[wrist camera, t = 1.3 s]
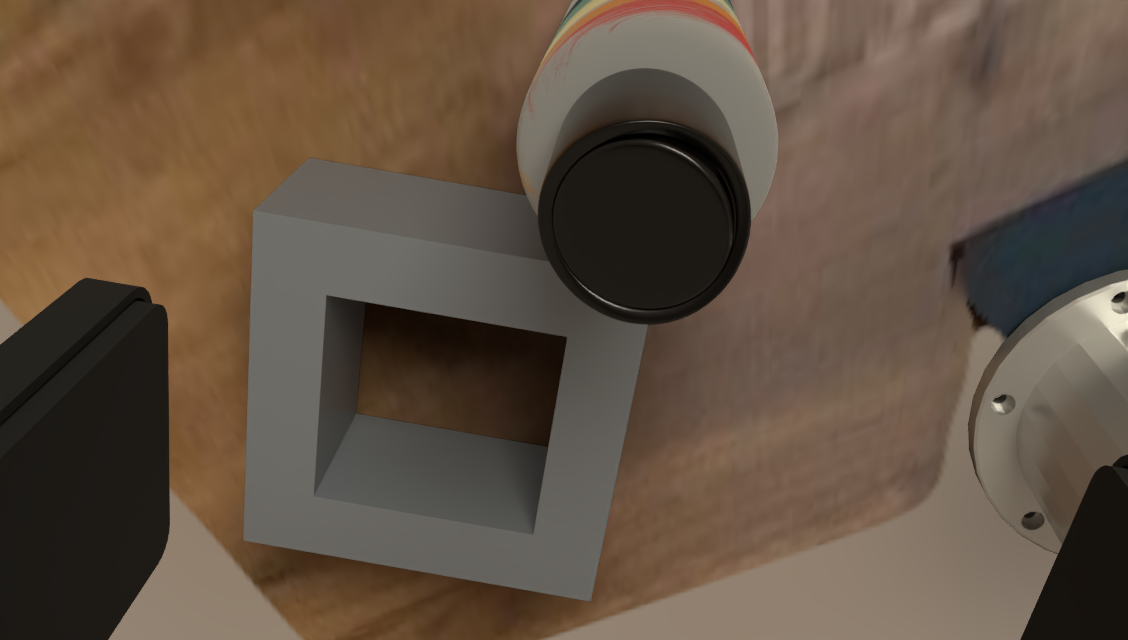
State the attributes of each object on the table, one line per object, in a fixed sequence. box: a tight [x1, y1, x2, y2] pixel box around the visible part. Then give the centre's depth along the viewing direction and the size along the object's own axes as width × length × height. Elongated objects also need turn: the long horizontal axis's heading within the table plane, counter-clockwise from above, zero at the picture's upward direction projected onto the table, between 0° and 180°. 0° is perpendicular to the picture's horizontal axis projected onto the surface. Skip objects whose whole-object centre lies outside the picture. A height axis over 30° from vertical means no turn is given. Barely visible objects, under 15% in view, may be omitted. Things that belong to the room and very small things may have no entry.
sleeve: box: [243, 158, 648, 601], centre depth 39 cm, size 13×13×6 cm
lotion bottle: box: [516, 0, 778, 325], centre depth 27 cm, size 6×6×20 cm
